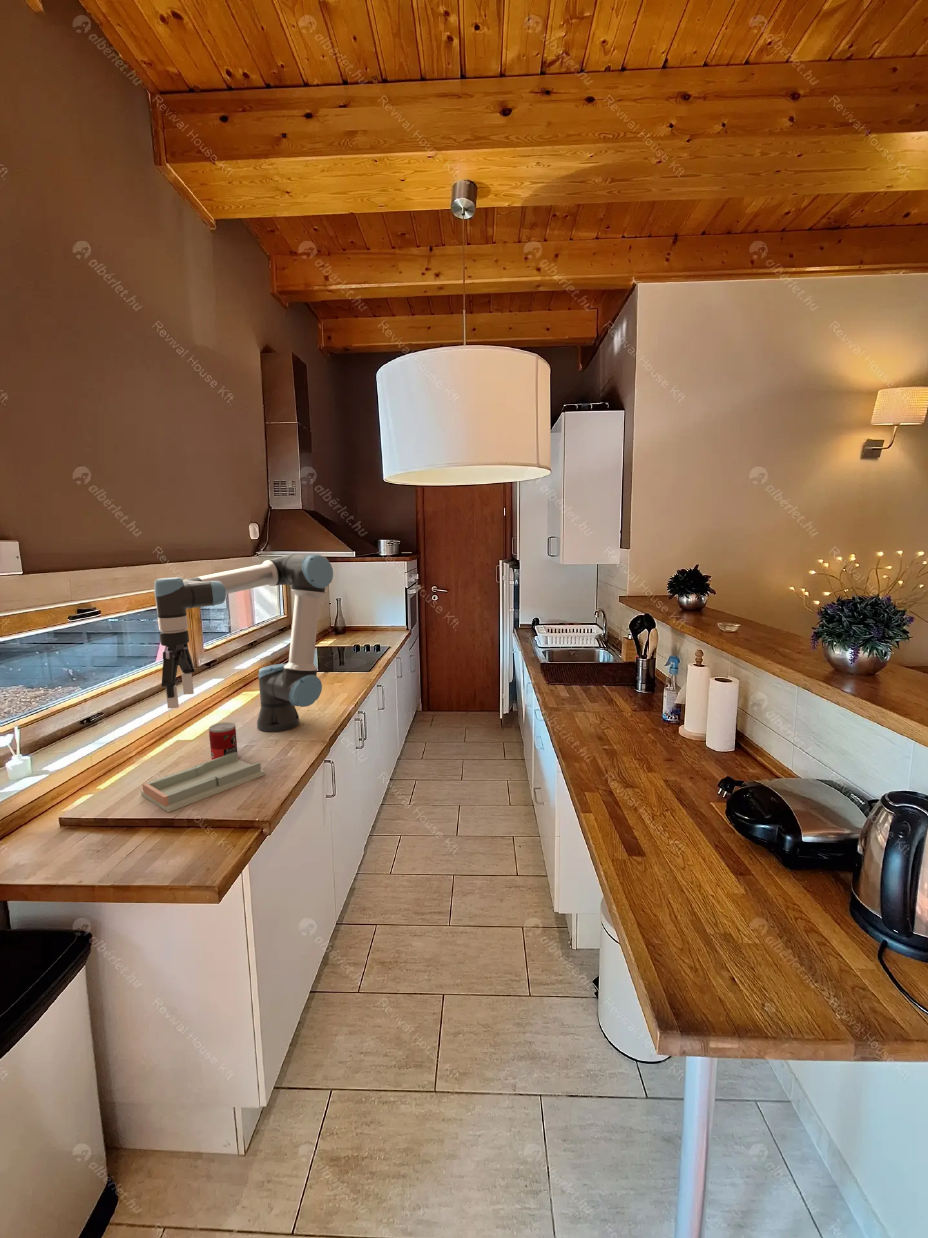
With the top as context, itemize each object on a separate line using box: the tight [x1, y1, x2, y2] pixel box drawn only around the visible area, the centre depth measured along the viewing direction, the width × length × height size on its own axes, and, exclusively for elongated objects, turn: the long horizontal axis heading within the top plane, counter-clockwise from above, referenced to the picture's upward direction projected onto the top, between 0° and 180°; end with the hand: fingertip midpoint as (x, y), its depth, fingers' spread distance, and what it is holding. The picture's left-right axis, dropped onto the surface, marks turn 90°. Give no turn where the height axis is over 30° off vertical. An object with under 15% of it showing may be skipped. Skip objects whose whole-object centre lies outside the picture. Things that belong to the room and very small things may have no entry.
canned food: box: [208, 722, 238, 760], centre depth 176 cm, size 8×8×11 cm
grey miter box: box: [140, 751, 266, 813], centre depth 158 cm, size 28×16×4 cm, turn 142°
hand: (181, 700), depth 164 cm, fingers open, 13 cm apart
